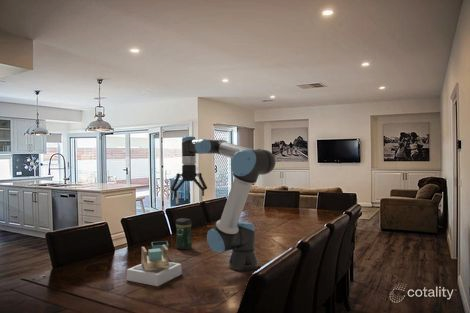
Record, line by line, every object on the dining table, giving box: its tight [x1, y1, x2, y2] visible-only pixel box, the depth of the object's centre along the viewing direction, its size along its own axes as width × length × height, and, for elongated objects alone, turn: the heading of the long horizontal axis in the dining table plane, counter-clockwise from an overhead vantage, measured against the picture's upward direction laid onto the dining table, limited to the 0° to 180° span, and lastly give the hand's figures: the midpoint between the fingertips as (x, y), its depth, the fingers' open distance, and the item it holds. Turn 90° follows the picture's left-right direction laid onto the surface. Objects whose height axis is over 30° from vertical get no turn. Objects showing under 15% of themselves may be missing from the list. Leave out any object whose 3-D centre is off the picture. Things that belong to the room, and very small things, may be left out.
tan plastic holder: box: [140, 245, 170, 271], centre depth 170 cm, size 11×12×8 cm
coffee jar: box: [175, 217, 193, 250], centre depth 224 cm, size 10×8×19 cm
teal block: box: [147, 248, 162, 261], centre depth 170 cm, size 6×6×4 cm
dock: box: [126, 261, 183, 287], centre depth 170 cm, size 18×18×5 cm
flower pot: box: [151, 240, 169, 251], centre depth 200 cm, size 9×9×9 cm
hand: (189, 202), depth 198 cm, fingers open, 13 cm apart
